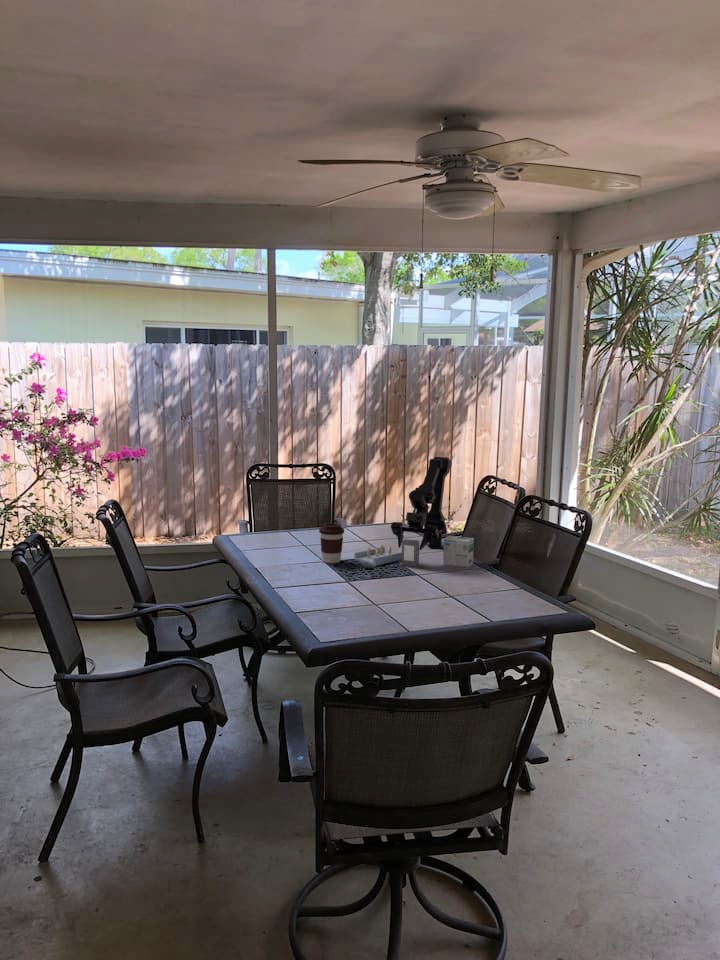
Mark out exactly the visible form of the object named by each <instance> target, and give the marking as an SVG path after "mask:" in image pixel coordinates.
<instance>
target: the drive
mask: <svg viewBox="0 0 720 960" xmlns="http://www.w3.org/2000/svg"><path fill="white" fill-rule="evenodd" d="M401 552H402V560H401V564H400V565H401V566H402V567H409V568H415V569H416V568H417V567H419V566H420V564H419V563H420V540H416V539H407V538H405V539H404V538H403V541H402V544H401Z"/></svg>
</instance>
